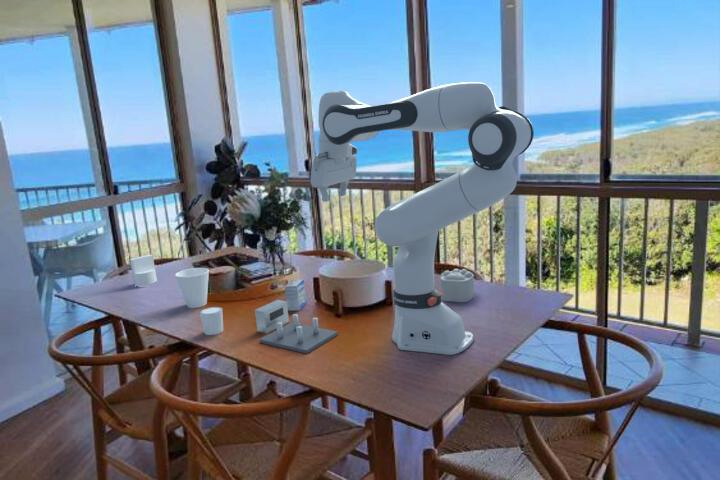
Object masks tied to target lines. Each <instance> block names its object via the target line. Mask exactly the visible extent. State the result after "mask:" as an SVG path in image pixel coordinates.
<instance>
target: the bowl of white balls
mask: <svg viewBox="0 0 720 480" xmlns="http://www.w3.org/2000/svg"><path fill="white" fill-rule="evenodd" d="M439 279H440V280H439V283H440V293H441V292H442V291H444V292H443V294H444V295H443V296H442V297H441V301H442V302H443V301H444V302H456V303H466V302H469V301H471V300H473V298H474V296H475V280H474V279H475V278H474V274H473V272H471V271H468V270H467V269H465V268H462V269H459V268H454V269H453V270H451V271H450V270H445V271H443V273H442V275H441V277H440V278H439Z"/></svg>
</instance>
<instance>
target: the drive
mask: <svg viewBox="0 0 720 480" xmlns="http://www.w3.org/2000/svg"><path fill="white" fill-rule="evenodd" d="M288 311H289V310H288V308H287V301H286V300H280V299H276V300H274V301H271V302H270V303H267V304H265V305H263V306H260V307H258V308H256V309H254V313H255V321H256V322H255V323H256V330H257V332H260V333H264V334H269V333H270V332H273V331H275V330H277V325H276V323H277V322H282V326H285V325H287V324H289V322H290V320H289V318H290V317H289V312H288Z"/></svg>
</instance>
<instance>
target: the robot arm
mask: <svg viewBox="0 0 720 480" xmlns="http://www.w3.org/2000/svg"><path fill="white" fill-rule="evenodd" d="M495 100H496V99H495V95H494V93H493V90H492V89H491V87H490V86H489V85H488V84H486V83H484V82H476V81H475V82H473V81H472V82H471V81H470V82H469V81H468V82H467V81H465V82H459V83H458V82H455V83H449V84H444V85H439V86H435V87H431V88H429V89H425V90H423V91H420V92H417V93H414V94H412V95H410V96H407V97H403V98H401V99H397V100H394V101H391V102H388V103H383V104H377V105H369V104H366V103H364V102H361V101H359V100H357V99H355V98H354V97H352V96H351V95H350V93H349V92H347V91H344V90H337V91H329V92H325V93H324V94H323V95H321V97H320V100H319V104H318V105H319V106H318V120H317V121H318V127H319V136H318V153H316V155H315V157H314V159H313V161H312V163H311V168H310V169H311V171H310V184H311V187H312V188H317V189H318V190H319V192H320V195H321V201H322V202H323V203H327V202H330V201H331V198H330V197H331V195H330V194H329V193H328V190H329V186H333V185H337V184H340V185H339V189H338V196H340V197H344V196H347V188H348V186H349V181H351V180H354V179H355V177H356V175H357V159H358V158H357V155H358V147H356V146H354V145H352V143H354V142H355V143H356V142H362V141H369V140H372V139H374V138H375V137H376V136H377V135H378V134H379V133H380V132H382V131H384V132H385V131H392V130H393V131H395V130H396V131H397V130H399V131H411V132H412V131H413V132H423V133H425V132H426V133H447V132H448V133H449V132H455V131H461V130H468V135H467V137H468V139H467V141H468V147H469V150H470V152H471V157H472V161H473V164H472V165H470V166H468V167H466V168H464V169H462V170H460V171H458V172H456V173H455V174H452V175H451V176H448V177H446V178H444V179H443V180H441V181H439V182H437V183H434V184H432V185H430V186H428V187H426V188H424V189H422V190H420V191H418V192H415V193H413V194H411V195H409V196H407V197H404V198H403V199H401V200H399V201H397V202H395V203H393V204H391V205H389V206H387V207H386V208H385V209H383V210H382V211H381V212H380V213H379V214H378V215H377V217H376V219H375V222H374V229H375V234H376V236H377V238H378V239H379V240H380V241H381V242H382V244H385V245H386V246H388V247H398V250H397V253H396V255H395V257H394V258H393V262H392V268H393V269H392V270H393V284H394V285H393V286H394V287H393V288H394V289H393V290H392V291H393V297H392V298H393V305H394V311H395V313H394V322H393V323H394V325H393V331H392V334H391V340H392V341H393V342H394V343H395V344H396V345H397V349H398V350H401V351H408V352H409V351H410V352H418V353H419V352H421V353H429V354H438V355H439V354H440V355H446V356H447V355H449V356H453V355H456V354H460V353H461V352H463V351H465V350H467V348H468V347H470V345H472V343H473V341H474V335H473V332H470V331H466V330H465V324H464V321H463V318H462V316H460V315H459V314H458V313H457V312H455V311H454V310H453V309H452V308H450V307H449V306H448V305H447V304H446V303H444V302H443V300H442V299H441V297H442V296H443V295H444V294H443V292H444V291H442V292H441V291H440V292H439V291H438V289H437V287H436V284H435V283H436V281H435V254H436V248H437V243H438V236H439V231H440V230H443V229H444V228H447V227H449V226H451V225H453V224H455V223H457V222H459V221H460V222H461V221H462V220H464V219H466V218H468V217H471V216H474V215H475V214H478V213H480V212H481V211H484V210H486V209H488V208H490V207H492V206H494V205H495V204H497V203H498V202H500V201H502V200H504V199H505V198H507V196H509V195H510V194H511V193H513V191H514V190H516V189H515V188H516V187H517V180H518V179H517V178H518V177H517V173H516V171H515V169H514V165H513V162H514V158H515V157H516V156H520V155H522V154H523V153H525V151H527V149H529V147H530V146H531V144H532V142H533V141H534V134H535V133H534V132H535V131H534V126H533V124H532V122H531V121H530V119H529V118H528V117H527V116H526V115H524V114H522V113H520V112H518V111H516V110H513V109H511V108H508V107H506V106H499V107H498V106H497V105H496V101H495Z"/></svg>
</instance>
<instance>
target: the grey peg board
mask: <svg viewBox="0 0 720 480" xmlns="http://www.w3.org/2000/svg"><path fill="white" fill-rule="evenodd" d="M318 319H319V318H318V317H312V318H311V322H312V326H310V325H307V324H301V323H300V321H299V315H298V314H297V313H293V314H292V321H291V322H290V323H289V322H288V323H286V324H285V325H282V322H277V323H276V325H277V328H276V329H275V330H273V331H271V333H270V332H269V333H267V334H266V335H264V336H263V337H261V338H259V339H258V340H259V343H261V344H265V345H268V346H269V345H270V346H273V347H278V348H282V349H287V350H291V351H294V352H297V353H298V352H299V353H303V354H307V355H308V354H309V353H310V352H312V351H314V350H315V349H317V348H318V347H321V346H322V345H324V344H325V343H327V342H328V341H330V340H332V339H333V338H335V337H337V336H338V335H339V333H338V331H337V330H331V329H327V328H321V327H319V320H318Z"/></svg>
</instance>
